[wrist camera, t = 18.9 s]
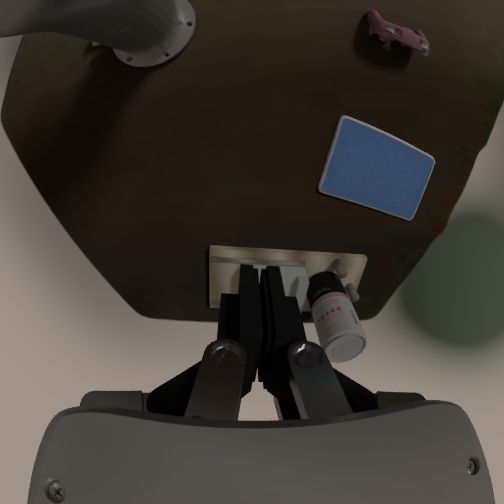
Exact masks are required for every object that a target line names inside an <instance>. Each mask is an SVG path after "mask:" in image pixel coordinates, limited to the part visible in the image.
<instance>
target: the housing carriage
mask: <svg viewBox="0 0 504 504" xmlns="http://www.w3.org/2000/svg"><path fill="white" fill-rule="evenodd" d="M243 264H250V265H253V268H258V275H259V283H260V275H261V269H266V266H267V265H268V266H279V267H280V271H281V276H282V281H283V286H284V291H285V296H295V297H296V298H297V301H298V305H299V309H300V313H301V312H302V309H303V305H304V301H305V297H306V293H307V289H308V286H309V280H308V277H307V273H306V270H305V267H304V266H291V265H272V264H254V263H243Z"/></svg>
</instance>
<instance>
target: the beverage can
mask: <svg viewBox="0 0 504 504" xmlns="http://www.w3.org/2000/svg"><path fill="white" fill-rule="evenodd" d="M306 295H307V299H308V302H309V306H310V309H311V313H312V316H313V320H314V323H315V327H316V330H317V334H318V337H319V341H320V345H321V347H322V348H323V350H324V351H325V353H326V355H327V357H328V359H329V361H330V362H336V363H339V362H345V361H349V360H351V359H353V358H355V357H357V356H358V355H359V354H360V353H362V351H363V350H364V349H365V347H366V343H367V341H366V335H365V333H364V330H363V328H362V326H361V324H360V321H359V319H358V317H357V315H356V312H355V310H354V308H353V306H352V304H351V301H350V299H349V297H348V295H347V293H346V291H345V289H344V286H343V284H342V282H341V280H340V278H339V277H338V275H337V274H335V273H333V272H330V271H323V272H319V273H317V274H315V275H313V276H312V277H311V278H310V279H309V286H308V289H307V293H306Z"/></svg>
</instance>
